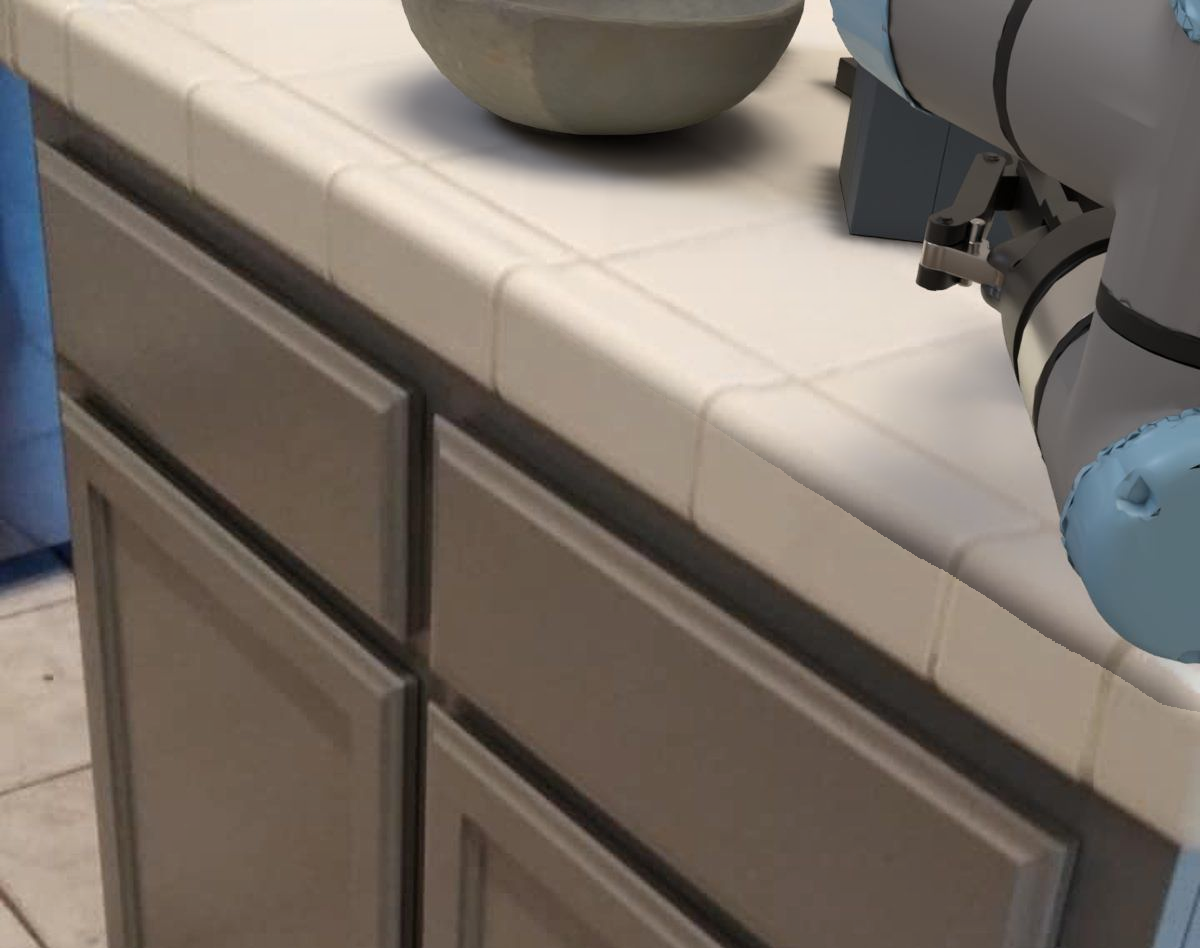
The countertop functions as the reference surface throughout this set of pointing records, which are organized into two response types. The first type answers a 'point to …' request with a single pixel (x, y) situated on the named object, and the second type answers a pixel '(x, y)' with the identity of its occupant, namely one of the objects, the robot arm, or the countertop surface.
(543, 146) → the countertop surface
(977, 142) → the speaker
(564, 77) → the bowl
